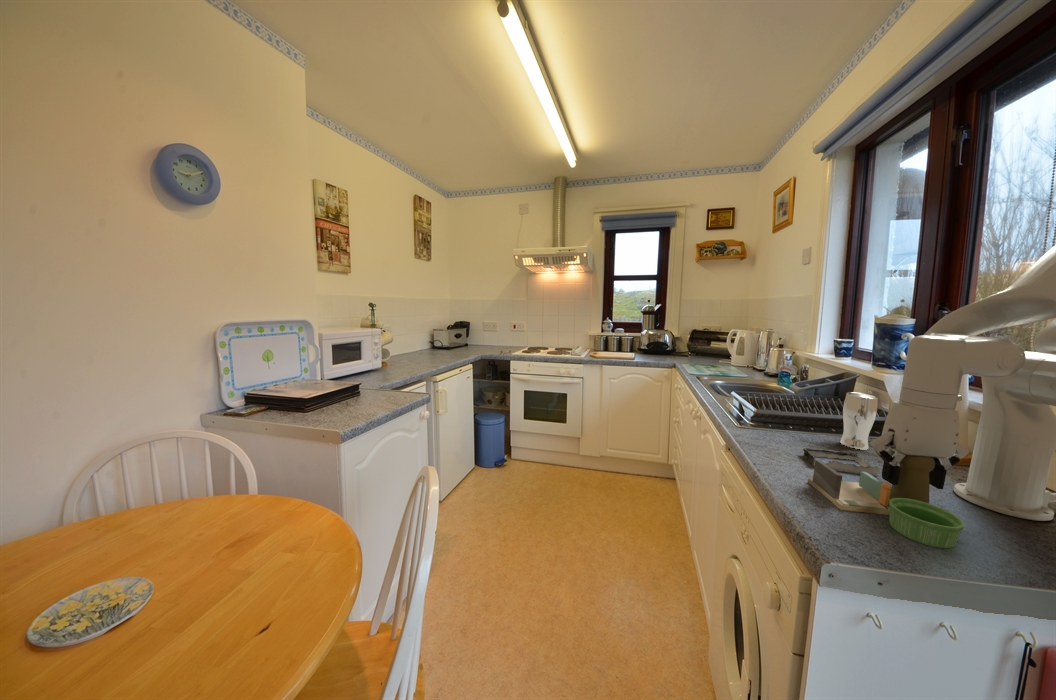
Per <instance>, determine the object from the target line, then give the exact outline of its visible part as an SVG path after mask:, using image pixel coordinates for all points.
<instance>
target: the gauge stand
mask: <svg viewBox="0 0 1056 700" xmlns="http://www.w3.org/2000/svg"><path fill="white" fill-rule="evenodd" d="M826 464H827V463H825V462H823V461H822V460H821V459H820V460H819V459H815V467H814V466H813V467H814V469H813V476H812V478H811V477H808V478H807V482H808V484H809V485H811V486H812V487H813V488H814V489H815V490H816V491H817V492H819V493H820V494H822V496H823V497H825V498H826V499H827V500H828V501H830V502H831V503H832V504H833V505H834V506H835V507H837V509H839V510H840V511H848V512H849V511H850V512H858V513H867V514H878V515H887V516H890V506H884V505H882V504H881V503H880V502H879V499H878V498H876V497H875V496H873V495H872V494H870V493H869V492H867V491H866V490H865V489H863V488H862V487H860V486H859V482H854V481H845V480H844V481H843V475H842V474H841V473H839V471H836V470H834V469H832V468H831V467H829V466H828V465H826Z"/></svg>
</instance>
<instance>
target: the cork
mask: <svg viewBox="0 0 1056 700" xmlns="http://www.w3.org/2000/svg"><path fill="white" fill-rule="evenodd" d="M898 466H899V467H900V468H901V470H900V475H899V480H898V484H897V485H892V484H891V489H890V491H891V492H890V497H889V499H893V498H908V499H913V500H918V501H922V502H925V503H929V504H930V484H929V472H930V471H932V470H933V469H934V467H935V461H934V459H933V458H932V457H924V456H913V455H906V456H905V457H904V458H903V459H902V460H901V461H900V462H899V464H898Z"/></svg>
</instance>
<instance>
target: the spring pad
mask: <svg viewBox="0 0 1056 700" xmlns="http://www.w3.org/2000/svg"><path fill="white" fill-rule="evenodd" d="M858 483H859V486H860V487H862V488H863V489H865V490H866V491H867V492H869V493H870V494H872V495H873V496H875V497H876V498H878V499H879V497H880V491H881V487H882V486H881V484H882V483H884V482H883V481H882V480H880V479H878V478H877V477H876V476H872V475H870V474H869V473H867V472H861V474H859V481H858ZM890 500H891V499H889V501H890ZM888 506H890V505H889V503H888Z"/></svg>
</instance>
